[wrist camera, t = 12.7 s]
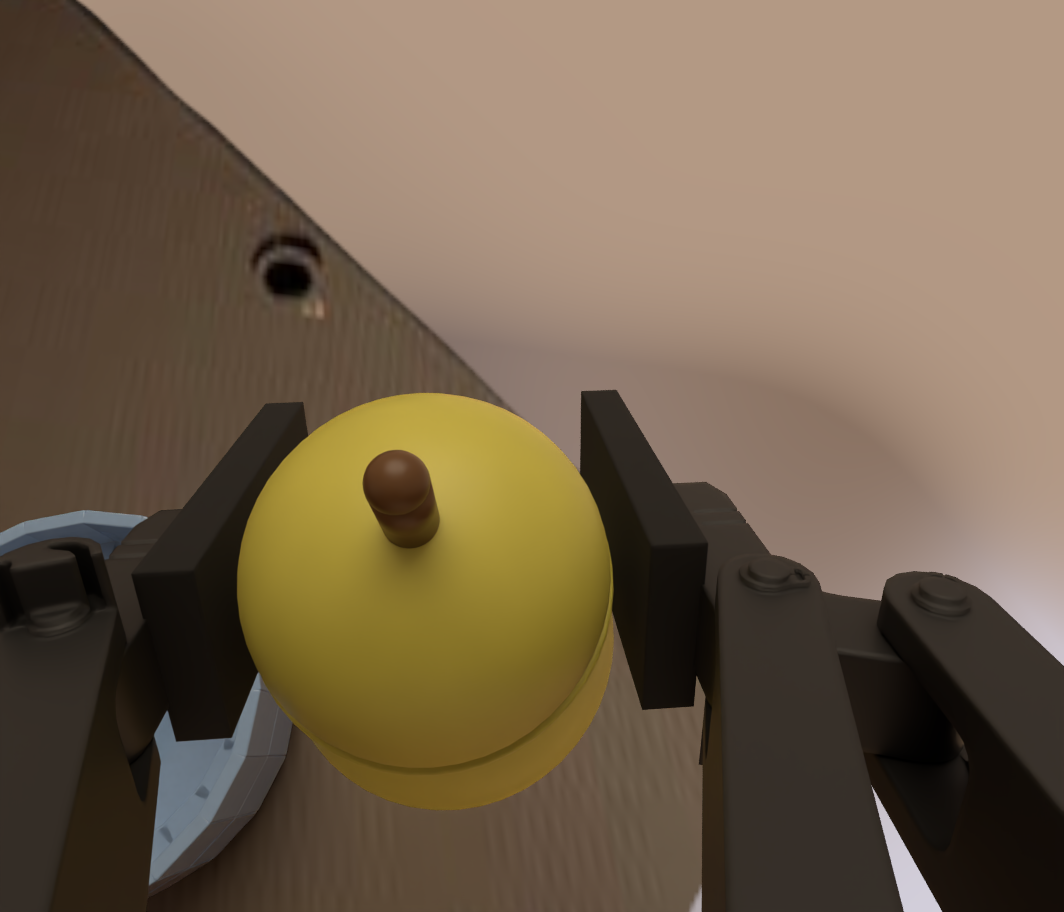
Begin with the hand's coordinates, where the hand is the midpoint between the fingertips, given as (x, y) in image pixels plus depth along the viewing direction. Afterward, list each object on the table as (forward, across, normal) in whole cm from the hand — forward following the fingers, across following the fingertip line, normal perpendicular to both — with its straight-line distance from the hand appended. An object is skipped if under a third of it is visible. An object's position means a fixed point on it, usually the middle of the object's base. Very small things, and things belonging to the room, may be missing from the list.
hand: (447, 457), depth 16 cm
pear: (0, 0, -5) cm, 5 cm away
